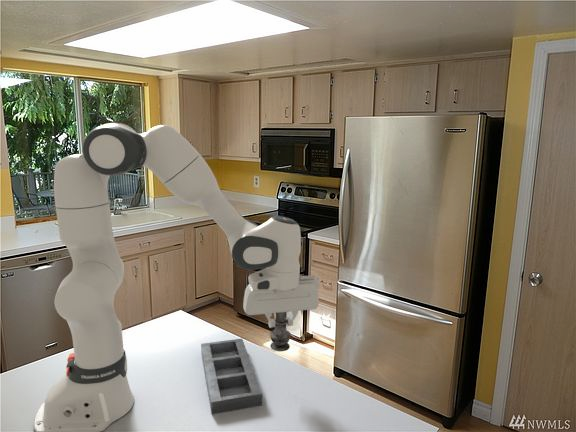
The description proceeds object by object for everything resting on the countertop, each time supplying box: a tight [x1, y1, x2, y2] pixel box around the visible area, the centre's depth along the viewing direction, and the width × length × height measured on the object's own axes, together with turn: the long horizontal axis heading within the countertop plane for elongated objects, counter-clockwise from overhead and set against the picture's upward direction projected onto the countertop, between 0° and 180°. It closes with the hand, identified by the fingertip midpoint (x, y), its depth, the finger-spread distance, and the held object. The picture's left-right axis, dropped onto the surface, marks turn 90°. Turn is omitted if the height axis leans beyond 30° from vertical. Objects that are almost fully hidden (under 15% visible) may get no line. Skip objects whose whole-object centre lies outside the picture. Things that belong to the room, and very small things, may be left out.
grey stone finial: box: [269, 312, 292, 352], centre depth 113 cm, size 6×6×12 cm
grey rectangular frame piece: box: [200, 338, 263, 415], centre depth 120 cm, size 13×29×4 cm, turn 16°
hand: (280, 325), depth 113 cm, fingers closed on grey stone finial, 4 cm apart
